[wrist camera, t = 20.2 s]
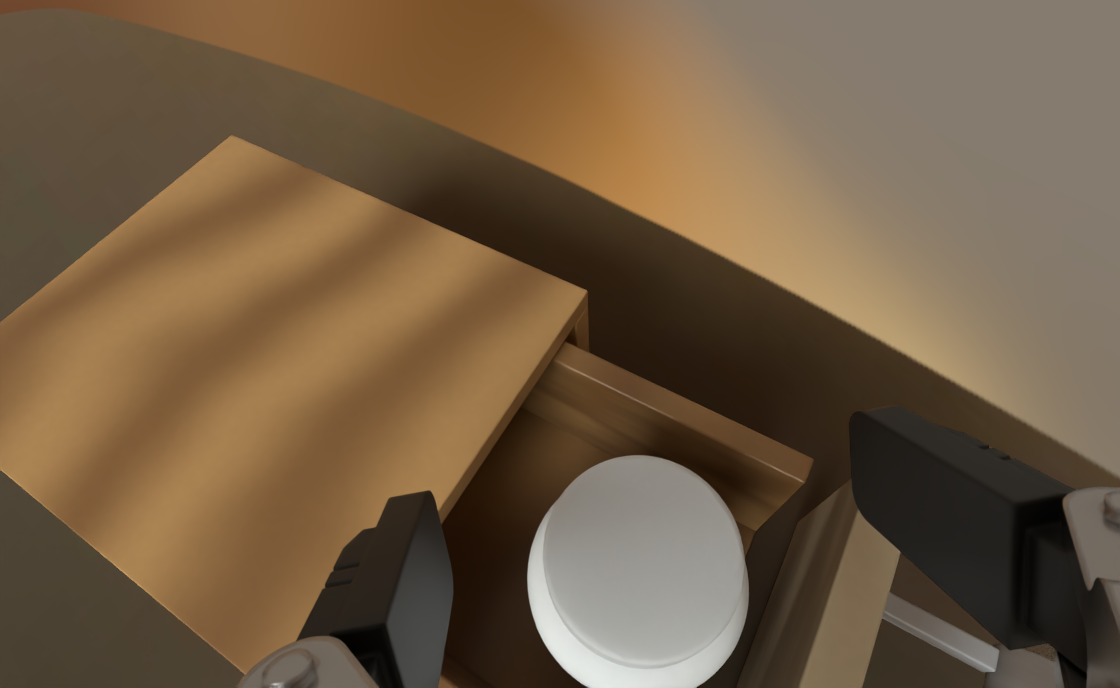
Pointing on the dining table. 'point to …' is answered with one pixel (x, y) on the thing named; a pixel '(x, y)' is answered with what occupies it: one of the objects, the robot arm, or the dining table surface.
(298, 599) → the cabinet
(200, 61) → the dining table surface
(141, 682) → the dining table surface
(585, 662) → the pill bottle
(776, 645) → the drawer
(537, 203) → the dining table surface
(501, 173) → the dining table surface
